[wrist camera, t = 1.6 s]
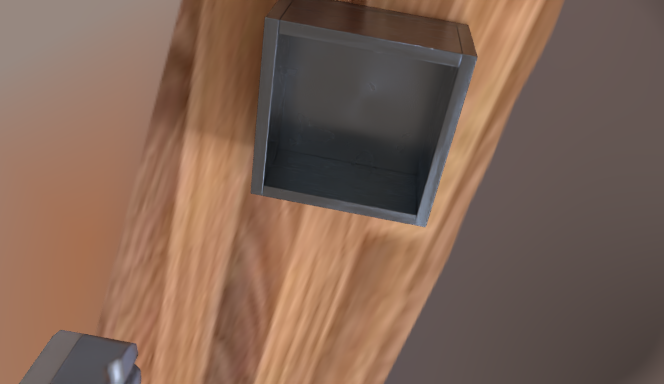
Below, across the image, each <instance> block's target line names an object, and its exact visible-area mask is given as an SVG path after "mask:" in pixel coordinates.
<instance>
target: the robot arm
mask: <svg viewBox="0 0 664 384" xmlns="http://www.w3.org/2000/svg"><path fill="white" fill-rule="evenodd" d="M137 357H138V350H137V345H136V344H135V343H130V342H125V341H119V340H114V339H109V338H104V337H98V336H93V335H88V334H82V333H76V332H71V331H65V330H60V331H59V332H57V333H56V334H55V335H54V336H52V338H51V339H50V341H49V342H48V343H47V345H46V346H45V348H44V349H43V351H42V352H41V353H40V355H39V356H38V358H37V359H36V360H35V362H34V363H33V365H32V366H31V368H30V369H29V370H28V372H27V373H26V375H25V376H24V378H23V379H22V380H21V382H20V383H19V384H141V371H140V369H139V368H138V367H137V366H136V365H135V364H134V363H135V361H136V359H137Z"/></svg>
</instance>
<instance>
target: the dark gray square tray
mask: <svg viewBox="0 0 664 384" xmlns="http://www.w3.org/2000/svg"><path fill="white" fill-rule="evenodd" d="M476 61H477V53H476V50H475V46H474V43H473V39H472V36H471V32H470V29H469V25H465V24H460V23H454V22H449V21H444V20H438V19H433V18H427V17H422V16H417V15H411V14H406V13H401V12H395V11H390V10H384V9H379V8H374V7H368V6H363V5H357V4H352V3H347V2H341V1H336V0H278V1H277V3H276V4H275V5H274V7H273V8H272V9H271V10H270V12H269V13H268V14H267V16H266V17H265V23H264V35H263V47H262V59H261V72H260V84H259V96H258V108H257V120H256V133H255V145H254V157H253V169H252V182H251V194H256V195H263V196H266V197H272V198H277V199H282V200H287V201H292V202H297V203H303V204H308V205H313V206H318V207H323V208H329V209H334V210H339V211H344V212H349V213H355V214H360V215H365V216H370V217H375V218H381V219H386V220H391V221H396V222H401V223H406V224H412V225H417V226H422V227H426V225H427V221H428V218H429V215H430V212H431V208H432V205H433V202H434V198H435V195H436V192H437V189H438V185H439V182H440V179H441V175H442V172H443V169H444V166H445V162H446V159H447V156H448V153H449V149H450V146H451V143H452V139H453V136H454V133H455V130H456V126H457V123H458V120H459V116H460V113H461V110H462V107H463V103H464V100H465V97H466V93H467V90H468V87H469V84H470V80H471V77H472V74H473V70H474V67H475V64H476Z"/></svg>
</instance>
